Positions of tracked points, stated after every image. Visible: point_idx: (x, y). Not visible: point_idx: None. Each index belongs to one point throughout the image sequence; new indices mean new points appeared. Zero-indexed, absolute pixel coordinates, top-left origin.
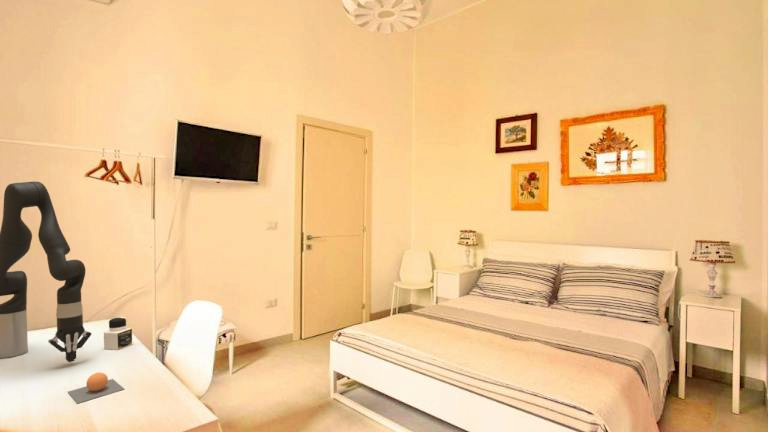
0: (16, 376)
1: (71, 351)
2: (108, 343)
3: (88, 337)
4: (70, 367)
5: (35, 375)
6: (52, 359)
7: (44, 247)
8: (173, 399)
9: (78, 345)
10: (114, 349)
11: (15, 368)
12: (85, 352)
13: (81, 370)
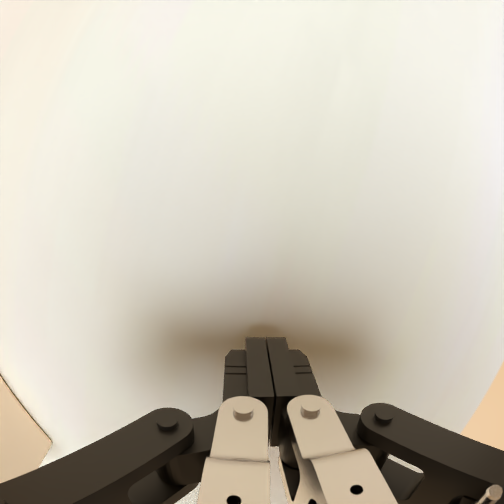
0: (479, 372)
1: (271, 411)
2: (16, 440)
3: (32, 479)
4: (284, 287)
5: (457, 312)
6: (281, 496)
7: None
8: None
9: (187, 449)
10: (6, 385)
11: None
12: None
13: (258, 110)
